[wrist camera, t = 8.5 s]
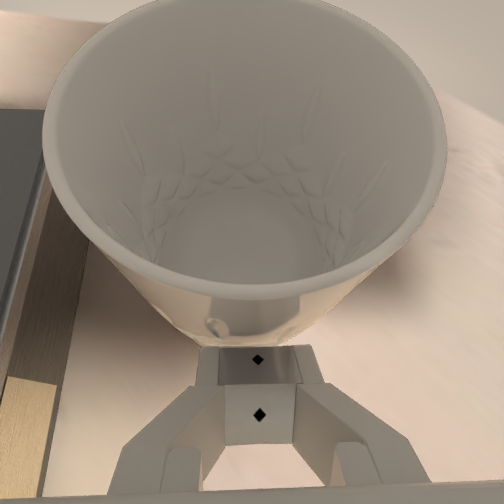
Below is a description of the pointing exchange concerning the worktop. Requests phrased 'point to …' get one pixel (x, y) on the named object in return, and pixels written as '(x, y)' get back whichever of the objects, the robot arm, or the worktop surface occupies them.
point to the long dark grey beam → (32, 302)
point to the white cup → (244, 159)
